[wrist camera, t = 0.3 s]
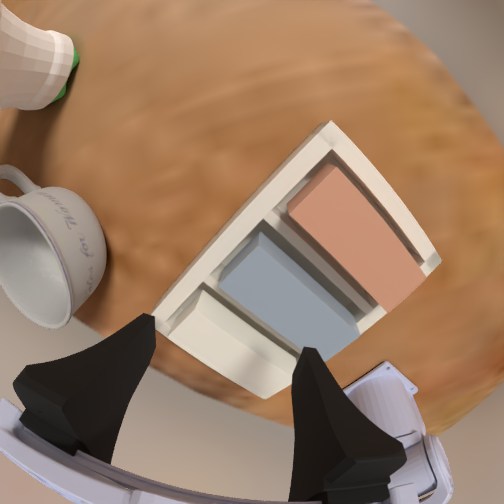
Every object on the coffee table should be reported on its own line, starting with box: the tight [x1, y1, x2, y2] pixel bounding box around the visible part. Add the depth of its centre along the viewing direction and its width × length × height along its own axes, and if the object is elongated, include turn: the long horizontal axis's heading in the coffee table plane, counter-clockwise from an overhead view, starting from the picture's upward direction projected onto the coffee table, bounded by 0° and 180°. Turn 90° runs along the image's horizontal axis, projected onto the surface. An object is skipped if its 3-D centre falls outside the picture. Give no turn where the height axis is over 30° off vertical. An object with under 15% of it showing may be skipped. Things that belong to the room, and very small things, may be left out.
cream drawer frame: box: [150, 121, 442, 396], centre depth 20 cm, size 13×20×4 cm, turn 138°
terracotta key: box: [287, 163, 427, 313], centre depth 16 cm, size 10×4×2 cm, turn 48°
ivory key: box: [167, 290, 296, 399], centre depth 20 cm, size 10×4×2 cm, turn 48°
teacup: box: [0, 164, 107, 330], centre depth 18 cm, size 14×11×8 cm
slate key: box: [218, 231, 361, 362], centre depth 18 cm, size 10×4×2 cm, turn 48°
